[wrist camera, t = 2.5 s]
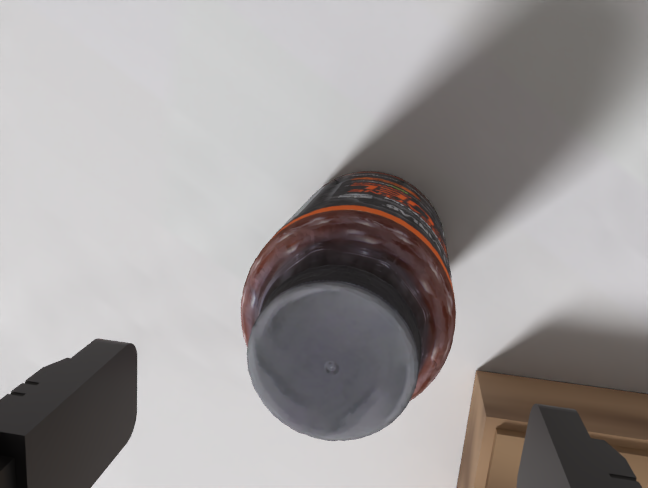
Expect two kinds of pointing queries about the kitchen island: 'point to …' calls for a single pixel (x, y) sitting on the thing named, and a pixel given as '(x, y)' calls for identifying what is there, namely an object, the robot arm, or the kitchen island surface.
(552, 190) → the kitchen island surface
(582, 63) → the kitchen island surface
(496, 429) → the plinth
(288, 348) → the supplement bottle
